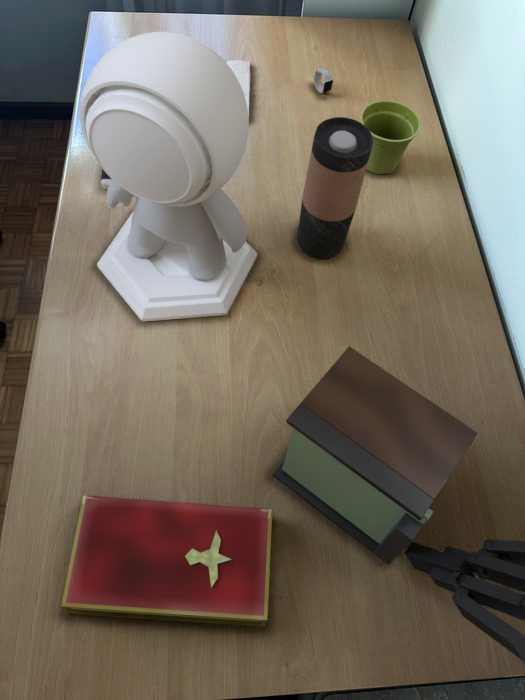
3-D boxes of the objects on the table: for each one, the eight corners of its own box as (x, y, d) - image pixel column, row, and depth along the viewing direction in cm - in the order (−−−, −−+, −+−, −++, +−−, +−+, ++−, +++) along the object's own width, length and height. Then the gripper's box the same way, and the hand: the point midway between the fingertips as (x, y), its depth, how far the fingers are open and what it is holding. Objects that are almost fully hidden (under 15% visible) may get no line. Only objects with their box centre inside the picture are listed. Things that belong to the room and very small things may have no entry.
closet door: (384, 569, 74) (418, 535, 63) (271, 482, 79) (283, 435, 67) (398, 548, 76) (433, 511, 64) (286, 463, 80) (301, 414, 68)
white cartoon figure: (76, 296, 91) (16, 76, 62) (152, 187, 103) (131, -43, 73) (209, 347, 89) (213, 144, 59) (271, 229, 101) (300, 9, 71)
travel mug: (355, 248, 100) (386, 144, 83) (315, 269, 97) (338, 166, 80) (325, 215, 103) (349, 108, 86) (285, 234, 100) (301, 128, 83)
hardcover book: (88, 503, 77) (83, 491, 73) (269, 516, 78) (272, 505, 74) (67, 613, 70) (60, 606, 67) (264, 626, 71) (267, 619, 68)
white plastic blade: (218, 119, 112) (218, 113, 111) (222, 63, 120) (222, 58, 119) (248, 121, 112) (249, 115, 112) (250, 65, 120) (250, 60, 119)
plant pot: (390, 191, 107) (404, 149, 99) (340, 165, 109) (350, 123, 101) (415, 158, 111) (431, 116, 104) (366, 135, 113) (378, 91, 106)
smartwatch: (310, 85, 119) (313, 66, 115) (320, 82, 120) (323, 62, 116) (321, 97, 117) (325, 78, 114) (331, 94, 118) (335, 75, 115)
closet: (382, 560, 76) (421, 518, 62) (272, 475, 80) (286, 419, 67) (431, 486, 81) (478, 433, 67) (325, 410, 85) (349, 345, 72)
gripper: (675, 540, 52) (429, 484, 70) (613, 688, 46) (363, 584, 64) (697, 598, 55) (456, 530, 73) (642, 743, 49) (395, 629, 68)
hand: (413, 555), depth 69 cm, fingers closed
